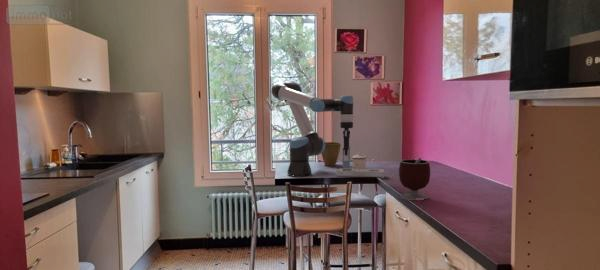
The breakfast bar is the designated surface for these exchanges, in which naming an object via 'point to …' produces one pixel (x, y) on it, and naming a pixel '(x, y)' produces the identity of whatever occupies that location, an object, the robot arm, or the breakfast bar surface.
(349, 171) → the panel
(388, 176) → the breakfast bar surface
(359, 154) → the teacup with lid
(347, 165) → the plug
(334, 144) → the plant pot
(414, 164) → the mate gourd
